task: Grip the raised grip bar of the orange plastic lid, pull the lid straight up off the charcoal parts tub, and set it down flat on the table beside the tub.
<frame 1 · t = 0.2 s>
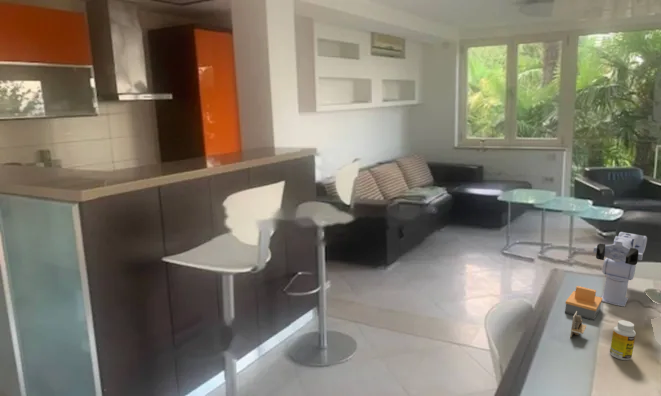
hand: (613, 258, 165), 21 cm above the table, tool horizontal, fingers open, 7 cm apart
supplement bottle: (620, 356, 144), on the table
lid: (583, 304, 173), point 2 cm above the table, touching tub
tub: (582, 311, 174), on the table
architectural model: (574, 337, 156), on the table
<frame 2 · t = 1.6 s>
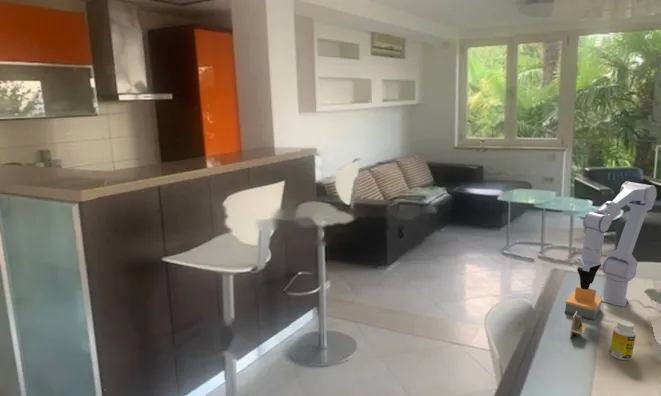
hand: (586, 285, 172), 9 cm above the table, tool pointing down, fingers open, 7 cm apart
nothing on the table moved.
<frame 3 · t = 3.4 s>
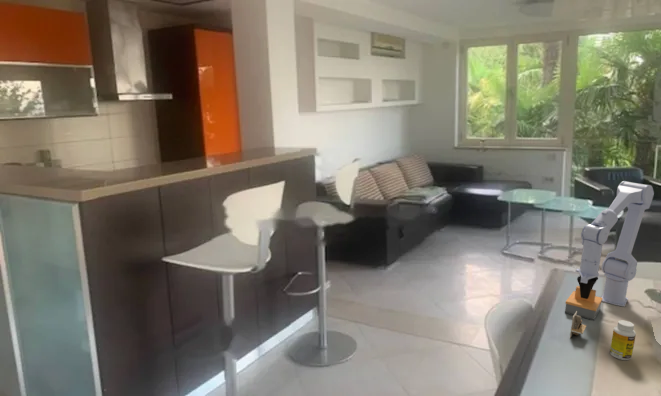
hand: (584, 297, 173), 5 cm above the table, tool pointing down, fingers closed on lid
lid: (583, 304, 173), point 2 cm above the table, touching gripper, tub
everything else where it was.
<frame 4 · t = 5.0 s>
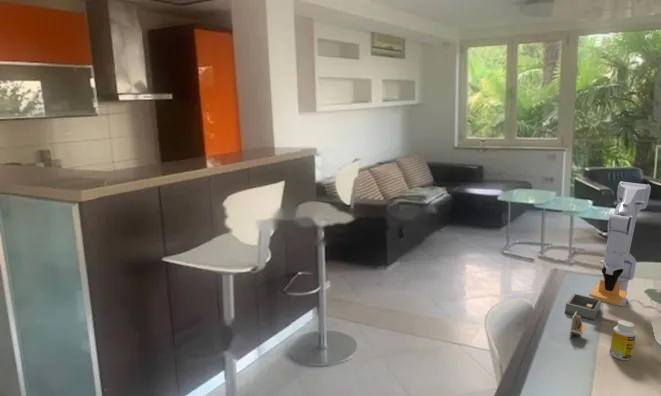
hand: (609, 289, 168), 10 cm above the table, tool pointing down, fingers closed on lid
lid: (607, 297, 169), point 7 cm above the table, touching gripper
everything else where it was.
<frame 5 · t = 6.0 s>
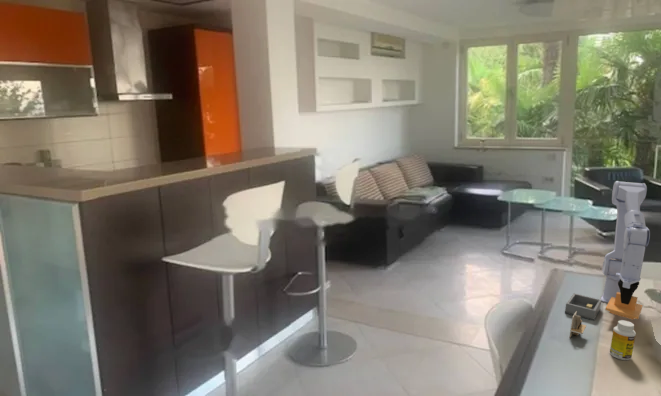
hand: (625, 302, 166), 7 cm above the table, tool pointing down, fingers closed on lid
lid: (623, 311, 167), point 3 cm above the table, touching gripper
everything else where it was.
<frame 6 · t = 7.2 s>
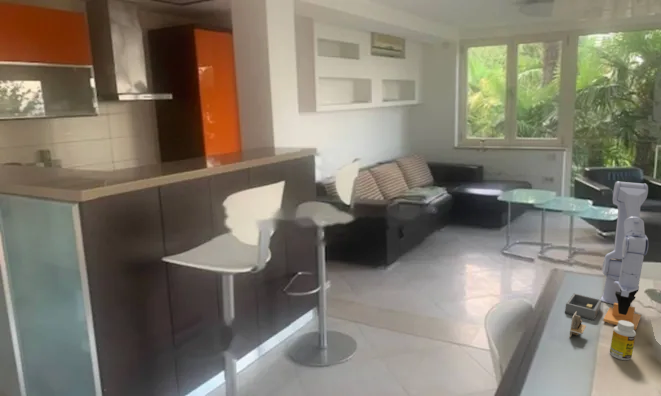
hand: (623, 310, 167), 4 cm above the table, tool pointing down, fingers open, 6 cm apart
lid: (621, 321, 167), on the table
everything else where it was.
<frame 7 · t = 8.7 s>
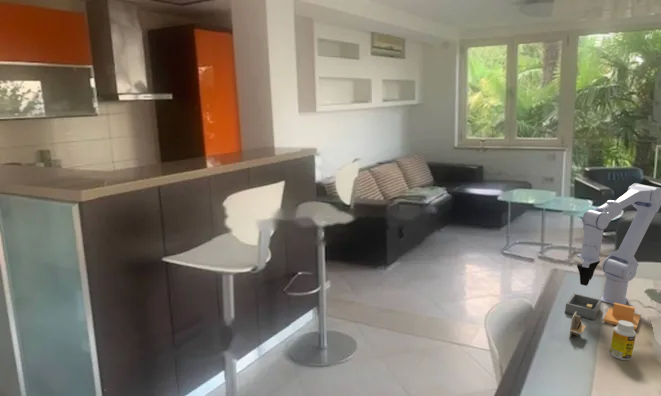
hand: (585, 281, 176), 9 cm above the table, tool pointing down, fingers open, 7 cm apart
nothing on the table moved.
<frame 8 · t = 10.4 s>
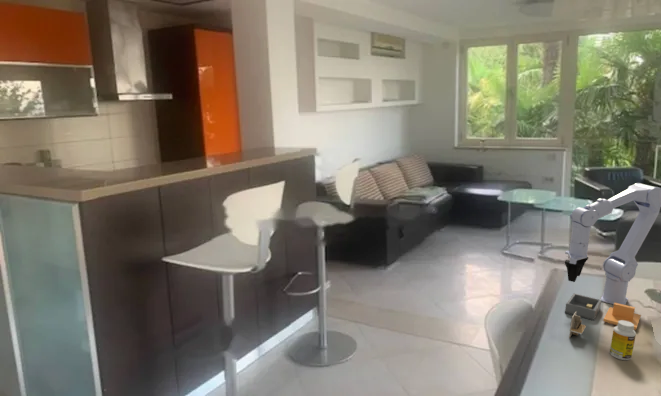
hand: (574, 278, 179), 9 cm above the table, tool pointing down, fingers open, 7 cm apart
nothing on the table moved.
at the end: lid inside the target area on the table beside the tub (0.6 cm from its centre), on the table; the gripper is holding nothing; lid tilted 0° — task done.
